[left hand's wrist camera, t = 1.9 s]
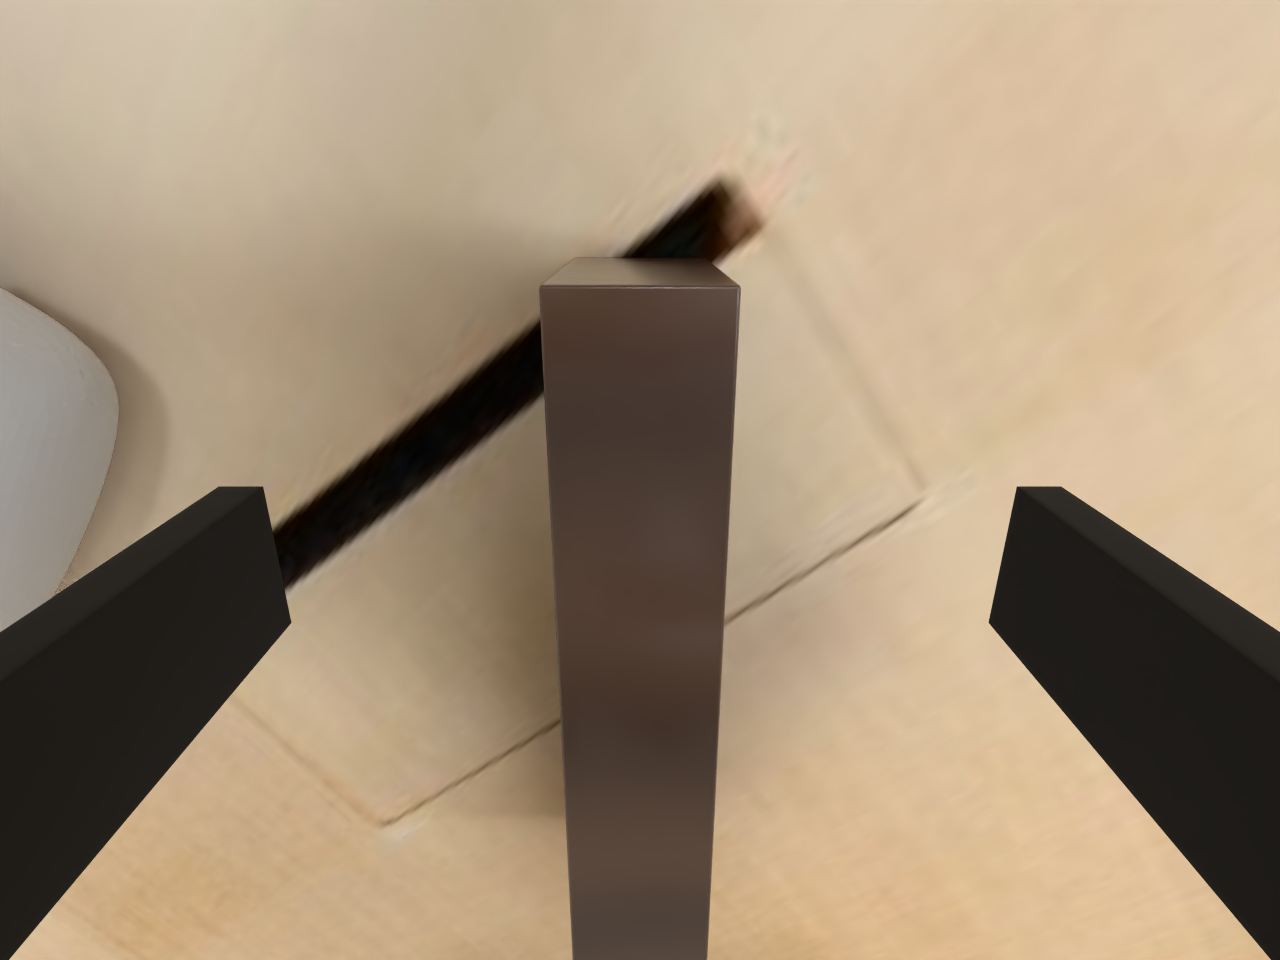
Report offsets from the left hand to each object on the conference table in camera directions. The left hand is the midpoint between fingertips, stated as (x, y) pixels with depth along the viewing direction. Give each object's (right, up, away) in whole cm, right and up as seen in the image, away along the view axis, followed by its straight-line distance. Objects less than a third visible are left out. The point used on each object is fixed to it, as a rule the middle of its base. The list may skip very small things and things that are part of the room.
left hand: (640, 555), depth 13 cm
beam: (0, -3, +19) cm, 19 cm away
